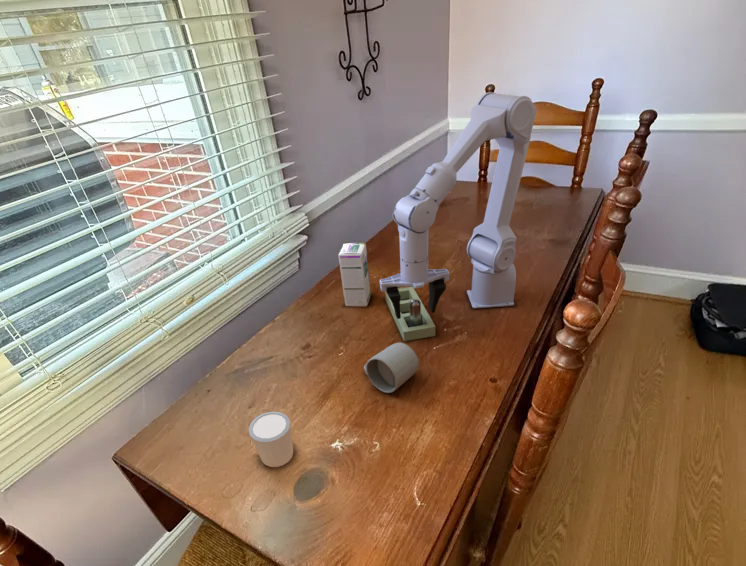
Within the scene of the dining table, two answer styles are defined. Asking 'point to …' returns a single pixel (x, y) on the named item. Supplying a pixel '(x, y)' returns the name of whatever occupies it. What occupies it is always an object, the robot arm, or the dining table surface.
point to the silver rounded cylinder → (415, 313)
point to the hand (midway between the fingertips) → (414, 313)
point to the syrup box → (355, 274)
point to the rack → (411, 332)
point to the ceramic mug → (392, 367)
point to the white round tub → (272, 438)
